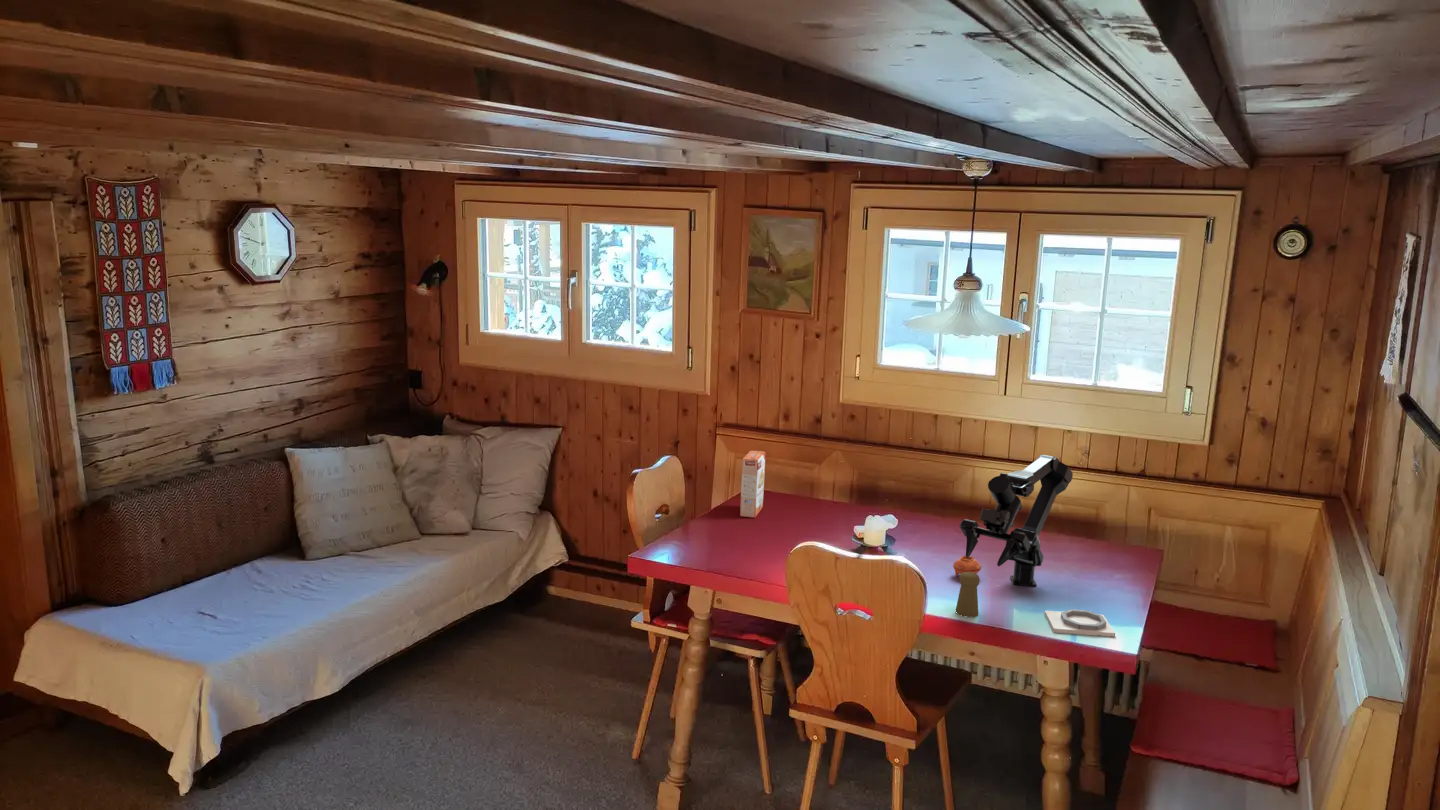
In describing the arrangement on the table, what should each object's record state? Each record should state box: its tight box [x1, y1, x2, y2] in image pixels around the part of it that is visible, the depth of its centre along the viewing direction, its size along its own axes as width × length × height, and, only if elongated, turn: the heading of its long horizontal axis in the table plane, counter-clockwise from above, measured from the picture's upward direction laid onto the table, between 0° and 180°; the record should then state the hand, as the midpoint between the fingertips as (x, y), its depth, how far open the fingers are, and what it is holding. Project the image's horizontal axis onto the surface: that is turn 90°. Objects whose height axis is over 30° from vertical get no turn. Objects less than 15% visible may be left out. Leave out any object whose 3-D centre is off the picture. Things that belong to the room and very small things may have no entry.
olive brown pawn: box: [955, 572, 981, 618], centre depth 261 cm, size 6×6×11 cm
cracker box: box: [739, 450, 767, 519], centre depth 346 cm, size 14×6×21 cm, turn 167°
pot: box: [952, 555, 982, 577], centre depth 289 cm, size 8×8×7 cm
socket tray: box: [1044, 609, 1116, 637], centre depth 256 cm, size 12×15×2 cm
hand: (982, 561), depth 265 cm, fingers open, 9 cm apart
